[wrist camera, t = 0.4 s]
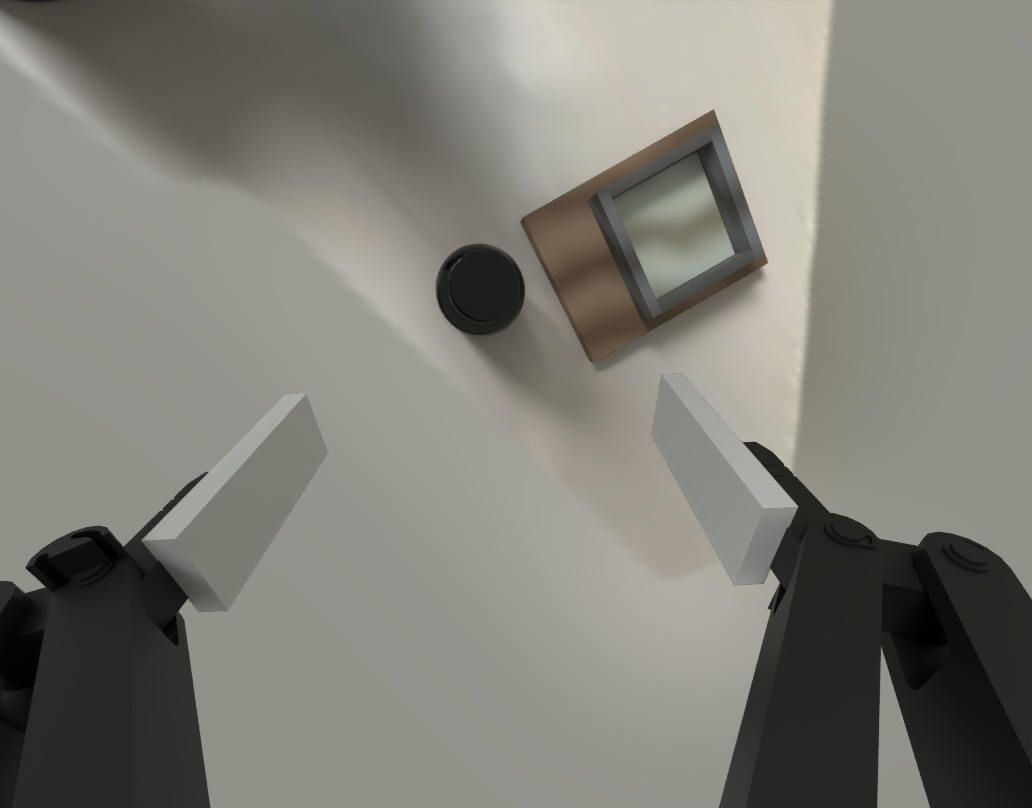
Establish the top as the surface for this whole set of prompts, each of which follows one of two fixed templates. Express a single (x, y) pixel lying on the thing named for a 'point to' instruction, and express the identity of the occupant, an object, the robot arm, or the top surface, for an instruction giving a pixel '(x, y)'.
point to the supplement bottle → (480, 290)
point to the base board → (647, 237)
